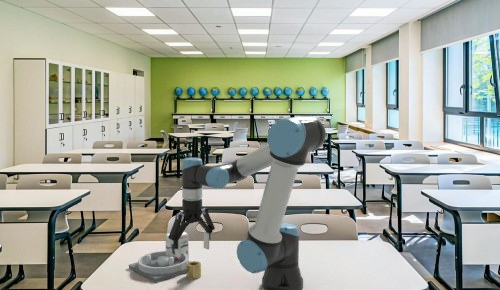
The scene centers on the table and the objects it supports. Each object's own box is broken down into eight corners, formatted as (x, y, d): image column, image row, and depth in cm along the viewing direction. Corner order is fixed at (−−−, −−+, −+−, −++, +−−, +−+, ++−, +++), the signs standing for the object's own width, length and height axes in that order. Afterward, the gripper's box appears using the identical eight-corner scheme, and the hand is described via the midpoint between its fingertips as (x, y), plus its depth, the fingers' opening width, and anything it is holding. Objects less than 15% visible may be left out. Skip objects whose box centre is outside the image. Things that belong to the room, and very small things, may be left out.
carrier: (198, 268, 187) (198, 254, 186) (155, 282, 173) (155, 267, 173) (170, 256, 201) (170, 242, 201) (128, 268, 188) (128, 254, 187)
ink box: (170, 264, 191) (169, 236, 190) (165, 261, 195) (165, 233, 194) (189, 260, 196) (188, 233, 194) (184, 257, 200) (183, 230, 199)
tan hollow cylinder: (203, 276, 179) (203, 263, 179) (192, 280, 176) (192, 267, 175) (195, 272, 183) (194, 260, 183) (183, 276, 179) (183, 263, 179)
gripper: (211, 192, 187) (211, 242, 190) (158, 202, 170) (159, 257, 173) (223, 195, 182) (223, 247, 184) (170, 205, 165) (170, 263, 167)
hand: (192, 252), depth 179 cm, fingers open, 13 cm apart
